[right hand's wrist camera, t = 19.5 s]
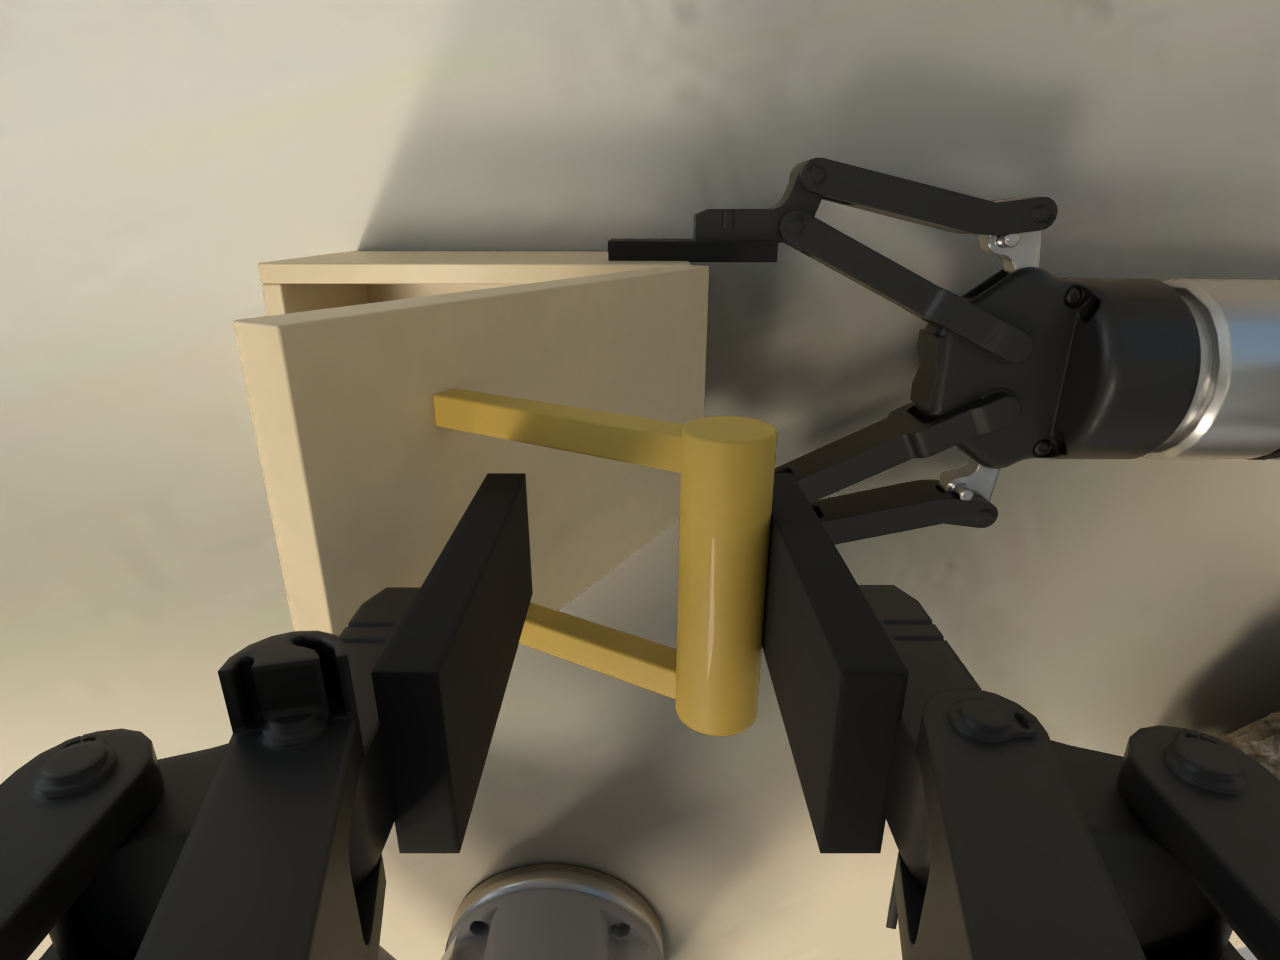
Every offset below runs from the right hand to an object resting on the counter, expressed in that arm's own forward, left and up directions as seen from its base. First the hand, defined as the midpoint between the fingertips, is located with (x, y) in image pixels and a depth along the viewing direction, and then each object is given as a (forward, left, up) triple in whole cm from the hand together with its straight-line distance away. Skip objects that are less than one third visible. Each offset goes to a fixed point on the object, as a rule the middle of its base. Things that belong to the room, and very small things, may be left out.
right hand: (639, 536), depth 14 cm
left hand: (-1, +1, -17) cm, 17 cm away
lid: (-1, +2, -6) cm, 7 cm away
